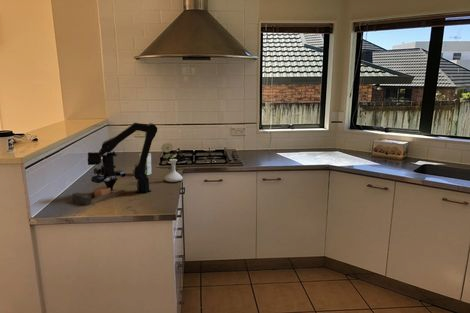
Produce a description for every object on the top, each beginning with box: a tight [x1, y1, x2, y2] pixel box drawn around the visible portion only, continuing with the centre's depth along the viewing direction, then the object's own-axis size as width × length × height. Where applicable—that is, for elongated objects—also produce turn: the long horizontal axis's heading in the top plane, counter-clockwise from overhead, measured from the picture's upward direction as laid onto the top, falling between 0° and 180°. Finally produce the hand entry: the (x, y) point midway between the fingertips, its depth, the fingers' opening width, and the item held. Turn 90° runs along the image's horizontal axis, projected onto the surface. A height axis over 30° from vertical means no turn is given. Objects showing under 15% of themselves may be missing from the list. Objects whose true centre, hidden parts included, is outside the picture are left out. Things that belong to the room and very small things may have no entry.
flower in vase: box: [160, 142, 183, 183], centre depth 222 cm, size 13×11×25 cm
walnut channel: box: [72, 187, 125, 206], centre depth 190 cm, size 11×24×4 cm, turn 147°
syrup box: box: [138, 152, 152, 176], centre depth 238 cm, size 6×6×14 cm
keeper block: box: [93, 185, 112, 198], centre depth 192 cm, size 6×6×4 cm
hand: (110, 191), depth 196 cm, fingers closed
